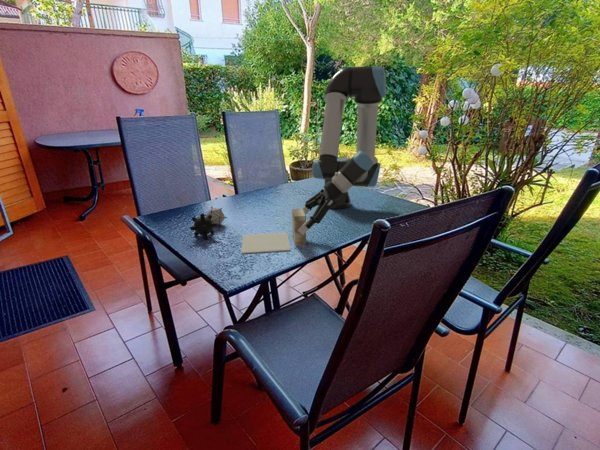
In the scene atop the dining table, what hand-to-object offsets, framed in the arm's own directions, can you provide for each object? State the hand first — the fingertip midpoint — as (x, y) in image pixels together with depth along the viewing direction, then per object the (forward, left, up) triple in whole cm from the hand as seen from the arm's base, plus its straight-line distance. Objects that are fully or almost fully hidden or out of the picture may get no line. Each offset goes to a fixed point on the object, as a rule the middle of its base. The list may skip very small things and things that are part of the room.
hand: (297, 225), depth 131 cm
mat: (+13, 0, -7) cm, 14 cm away
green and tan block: (0, 0, -7) cm, 7 cm away
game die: (+34, -22, -7) cm, 41 cm away
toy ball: (+38, -10, -7) cm, 40 cm away
